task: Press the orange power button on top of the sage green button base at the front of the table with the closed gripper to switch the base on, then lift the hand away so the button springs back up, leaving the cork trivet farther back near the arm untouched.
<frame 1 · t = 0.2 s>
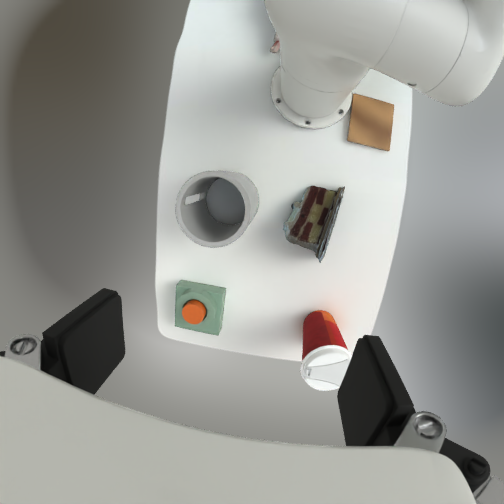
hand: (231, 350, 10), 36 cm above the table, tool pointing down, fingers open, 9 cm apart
paper cup: (319, 323, 49), on the table
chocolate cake: (311, 215, 45), on the table
cup: (230, 200, 45), on the table
button base: (201, 304, 50), on the table
cork trivet: (370, 122, 39), on the table
power button: (194, 312, 45), point 5 cm above the table, slide at 0.1 cm
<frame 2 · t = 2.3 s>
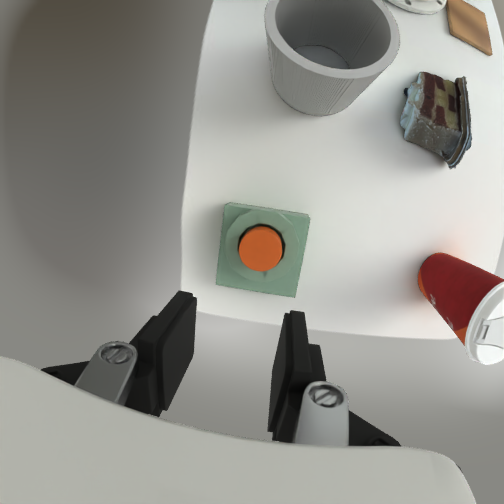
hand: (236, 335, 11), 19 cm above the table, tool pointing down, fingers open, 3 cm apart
paper cup: (436, 274, 29), on the table
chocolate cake: (426, 109, 24), on the table
cup: (315, 76, 25), on the table
button base: (262, 246, 30), on the table
cork trivet: (467, 23, 19), on the table
power button: (260, 248, 25), point 5 cm above the table, slide at 0.1 cm
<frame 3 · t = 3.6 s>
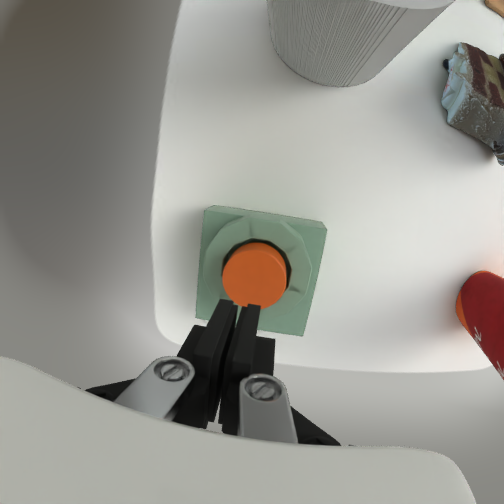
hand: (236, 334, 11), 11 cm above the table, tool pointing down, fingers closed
paper cup: (476, 297, 21), on the table
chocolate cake: (470, 88, 16), on the table
cup: (330, 36, 17), on the table
button base: (259, 265, 22), on the table
power button: (255, 275, 17), point 5 cm above the table, slide at 0.1 cm
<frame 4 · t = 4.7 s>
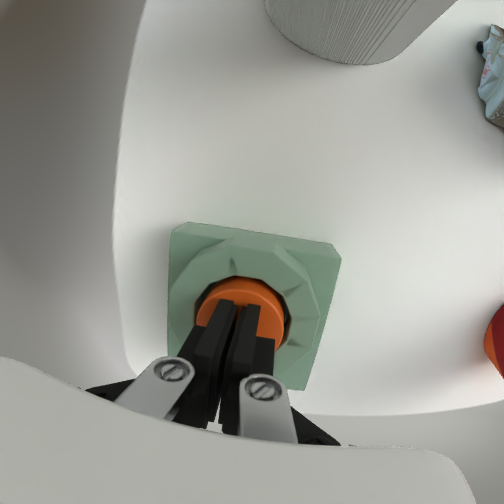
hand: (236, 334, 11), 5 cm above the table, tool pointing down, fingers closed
cup: (341, 4, 12), on the table
button base: (249, 299, 17), on the table
power button: (241, 320, 12), point 4 cm above the table, slide at -0.6 cm, touching gripper
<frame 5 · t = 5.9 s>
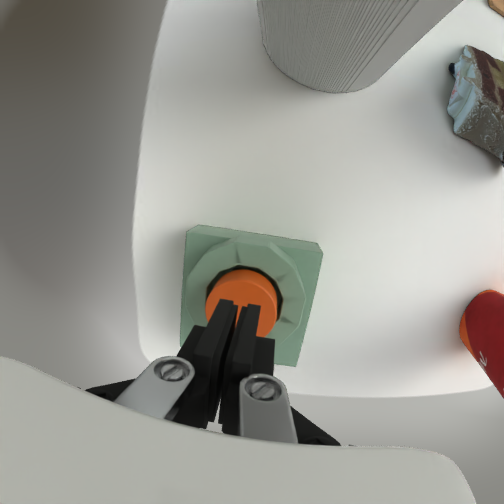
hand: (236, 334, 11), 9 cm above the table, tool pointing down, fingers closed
paper cup: (481, 317, 19), on the table
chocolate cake: (476, 95, 15), on the table
cup: (327, 37, 15), on the table
button base: (249, 289, 20), on the table
power button: (242, 306, 15), point 5 cm above the table, slide at 0.1 cm
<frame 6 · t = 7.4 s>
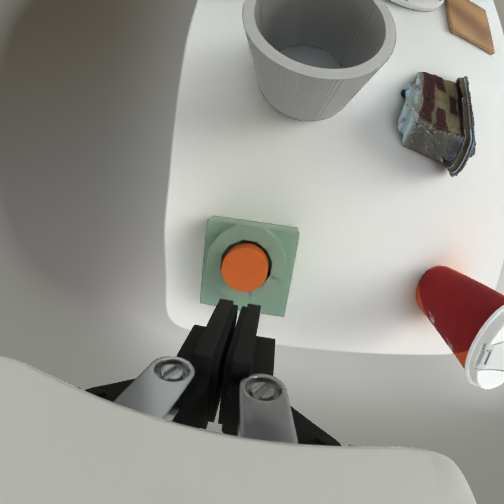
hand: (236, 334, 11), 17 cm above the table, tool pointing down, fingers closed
paper cup: (436, 288, 27), on the table
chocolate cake: (426, 112, 23), on the table
cup: (306, 78, 24), on the table
button base: (249, 261, 28), on the table
cork trivet: (467, 20, 18), on the table
power button: (245, 267, 23), point 5 cm above the table, slide at 0.1 cm
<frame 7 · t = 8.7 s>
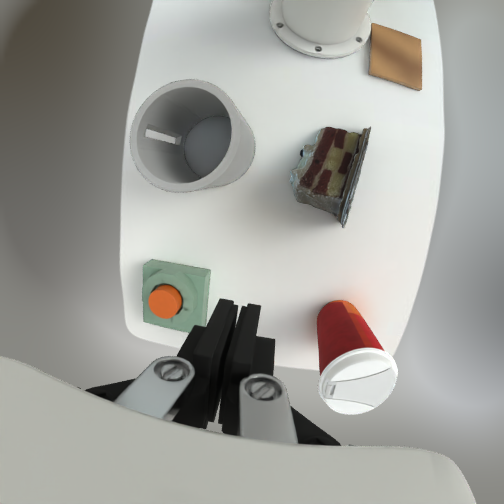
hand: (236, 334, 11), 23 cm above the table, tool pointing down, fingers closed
paper cup: (337, 318, 36), on the table
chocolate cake: (327, 166, 31), on the table
cup: (216, 147, 32), on the table
button base: (178, 293, 37), on the table
cork trivet: (395, 56, 26), on the table
power button: (165, 301, 32), point 5 cm above the table, slide at 0.1 cm
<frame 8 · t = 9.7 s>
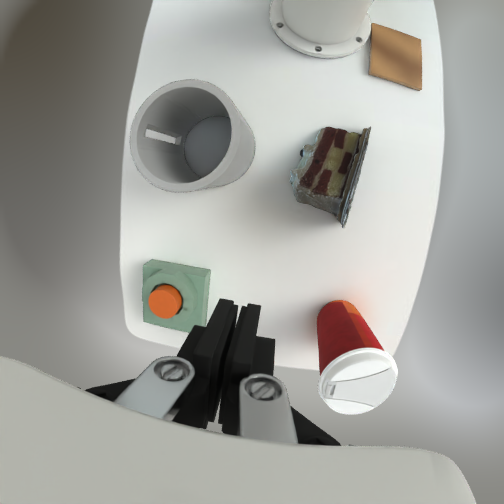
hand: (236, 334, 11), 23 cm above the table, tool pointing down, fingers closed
paper cup: (337, 318, 36), on the table
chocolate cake: (327, 166, 31), on the table
cup: (216, 147, 32), on the table
button base: (178, 293, 37), on the table
cork trivet: (395, 56, 26), on the table
power button: (165, 301, 32), point 5 cm above the table, slide at 0.1 cm
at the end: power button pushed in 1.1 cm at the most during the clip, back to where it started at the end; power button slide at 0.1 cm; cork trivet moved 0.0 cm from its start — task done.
